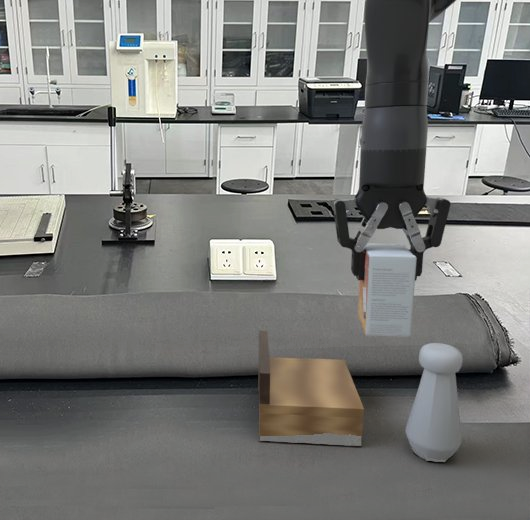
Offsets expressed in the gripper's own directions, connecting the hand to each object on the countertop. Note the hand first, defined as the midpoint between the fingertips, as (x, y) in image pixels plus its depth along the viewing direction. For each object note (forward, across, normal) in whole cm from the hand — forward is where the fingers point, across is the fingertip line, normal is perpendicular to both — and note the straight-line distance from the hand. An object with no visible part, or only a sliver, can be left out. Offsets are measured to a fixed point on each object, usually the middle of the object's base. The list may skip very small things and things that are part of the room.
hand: (385, 278), depth 69 cm
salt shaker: (+18, +3, -12) cm, 22 cm away
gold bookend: (+18, -10, -4) cm, 21 cm away
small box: (+7, 0, 0) cm, 7 cm away
